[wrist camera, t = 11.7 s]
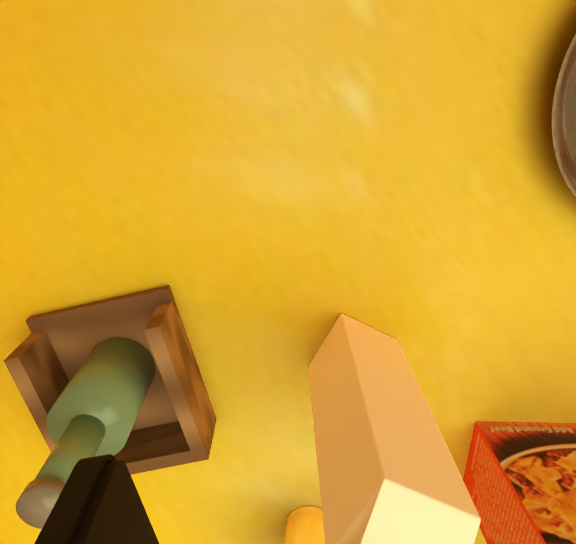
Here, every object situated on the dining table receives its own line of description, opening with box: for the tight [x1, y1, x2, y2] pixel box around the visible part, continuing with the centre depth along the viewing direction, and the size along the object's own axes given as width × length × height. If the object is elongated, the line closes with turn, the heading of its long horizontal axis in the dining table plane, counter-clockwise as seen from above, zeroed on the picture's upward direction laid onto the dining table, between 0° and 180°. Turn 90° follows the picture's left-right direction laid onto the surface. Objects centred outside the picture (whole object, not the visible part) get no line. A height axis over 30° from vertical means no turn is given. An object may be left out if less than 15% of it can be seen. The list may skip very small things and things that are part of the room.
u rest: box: [4, 285, 216, 475], centre depth 41 cm, size 14×12×5 cm
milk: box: [308, 313, 481, 544], centre depth 33 cm, size 6×6×22 cm
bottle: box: [16, 338, 156, 529], centre depth 35 cm, size 6×6×15 cm
